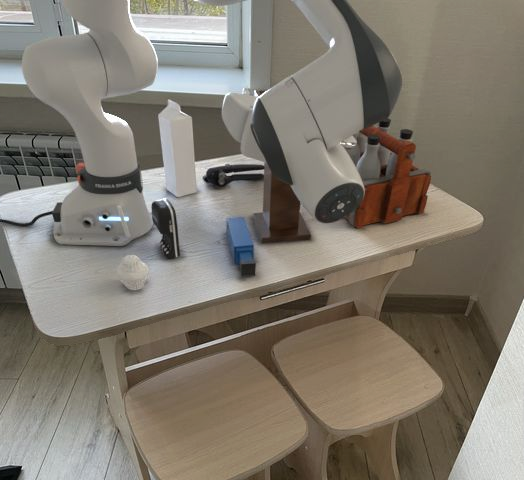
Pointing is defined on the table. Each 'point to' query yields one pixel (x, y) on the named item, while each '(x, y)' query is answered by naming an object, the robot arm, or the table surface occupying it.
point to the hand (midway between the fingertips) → (273, 97)
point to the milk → (177, 150)
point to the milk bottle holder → (387, 176)
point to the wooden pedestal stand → (279, 210)
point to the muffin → (132, 272)
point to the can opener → (220, 179)
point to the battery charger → (166, 227)
